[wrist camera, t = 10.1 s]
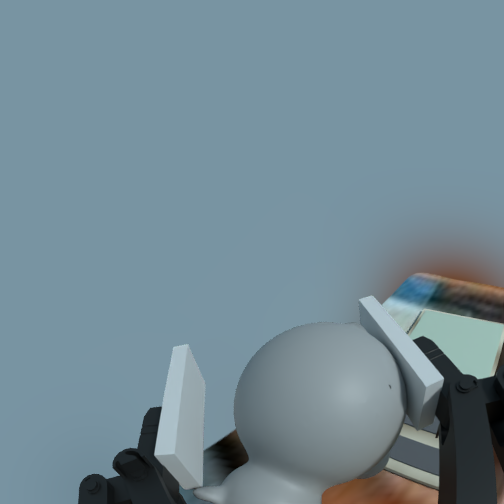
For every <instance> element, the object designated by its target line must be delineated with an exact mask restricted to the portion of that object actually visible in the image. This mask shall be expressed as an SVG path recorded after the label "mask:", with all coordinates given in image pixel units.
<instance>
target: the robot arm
mask: <svg viewBox="0 0 504 504" xmlns="http://www.w3.org/2000/svg"><path fill="white" fill-rule="evenodd" d="M359 310H360V322H361V325H362V326H363V327H364V328H365V330H366V331H367V332H368V333H369V334H370V335H371V336H373V337H375V338H376V339H377V340H378V341H380V342H381V343H382V344H383V345H384V346H385V347H386V348H387V349H388V350H389V351H390V353H391V354H392V355H393V356H394V358H395V360H396V361H397V363H398V365H399V368H400V370H401V373H402V375H403V378H404V382H405V386H406V392H407V411H406V414H407V415H408V417H409V419H410V420H411V422H412V424H413V425H414V427H415V429H416V430H417V431H419V430H421V429H423V428H425V427H427V426H429V425H431V424H433V422H434V418H435V415H436V417H437V418H438V420H439V421H440V423H439V426H438V429H437V432H436V436H435V438H438V435H439V495H438V504H497V493H496V477H495V465H494V456H493V448H492V445H493V447H494V450H495V452H496V454H497V457H498V459H499V462H500V464H501V467H502V470H503V472H504V365H502V366H501V367H500V368H499V369H498V371H497V373H496V375H495V376H491V377H487V378H483V379H477V378H476V377H475V376H472V375H469V374H463V373H462V372H461V371H460V370H459V369H458V368H457V367H456V366H455V365H454V363H453V362H452V361H451V360H450V359H449V358H448V357H447V356H446V355H445V354H444V352H443V351H442V350H441V349H439V347H438V346H437V345H436V344H435V343H434V342H433V341H432V340H431V339H429V338H426V337H424V336H421V337H419V338H416V339H414V340H412V339H411V338H410V337H409V336H408V335H407V334H406V332H405V331H404V330H403V329H402V328H401V327H400V326H399V324H398V323H397V322H396V321H395V320H394V319H393V318H392V317H391V315H390V314H389V313H388V312H387V311H386V310H385V309H384V308H383V306H382V305H381V304H380V303H379V302H378V301H377V300H376V299H375V298H374V297H373V295H372V296H369V297H365V298H362V299H359ZM204 404H205V381H204V379H203V377H202V375H201V373H200V370H199V368H198V366H197V364H196V362H195V359H194V357H193V355H192V352H191V350H190V348H189V345H188V344H185V345H181V346H176V347H173V352H172V357H171V362H170V367H169V372H168V377H167V383H166V388H165V394H164V399H163V405H162V407H154V408H150V409H149V410H148V412H147V413H146V415H145V416H144V420H143V424H142V427H143V428H142V429H141V435H140V438H139V443H138V448H137V449H134V448H129V449H125V450H123V451H122V452H119V453H118V454H117V455H116V457H115V458H114V460H113V469H114V470H115V471H116V472H117V473H118V474H119V475H120V476H116V477H113V478H109V479H105V478H104V477H103V476H101V475H99V474H92V475H88V476H87V477H85V478H84V479H83V481H82V482H81V484H80V487H79V501H78V504H186V502H185V500H184V499H183V497H182V495H181V494H180V493H179V484H180V485H181V486H182V487H183V488H184V489H185V490H188V489H197V488H199V487H203V438H204Z"/></svg>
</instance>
